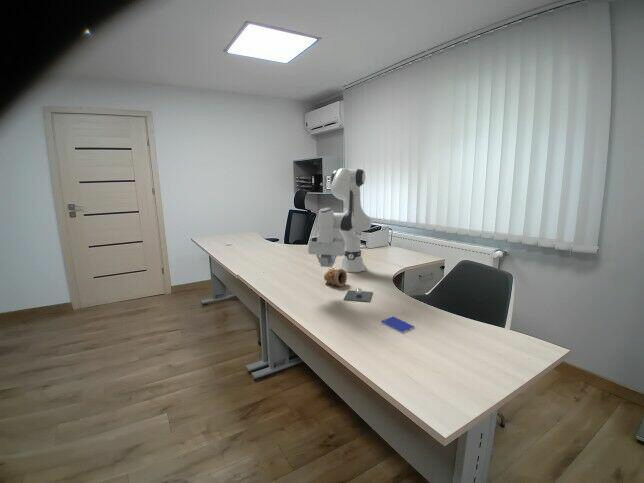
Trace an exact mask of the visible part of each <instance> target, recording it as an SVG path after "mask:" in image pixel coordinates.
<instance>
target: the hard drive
mask: <svg viewBox="0 0 644 483" xmlns="http://www.w3.org/2000/svg"><path fill="white" fill-rule="evenodd" d="M380 324H382V325H383V326H386V327H388V328H390V329H392V330H394V331H396V332H398V333H400V334H403V333H406V332H409V331H411V330H413V329H415V326H414V325H412V324H410V323H408V322H405V321H403V320H401V319H399V318H397V317H395V316H391V317H388V318H386V319H385V318H384V319H383V320H381V321H380Z"/></svg>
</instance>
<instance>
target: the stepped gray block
mask: <svg viewBox="0 0 644 483" xmlns="http://www.w3.org/2000/svg"><path fill="white" fill-rule="evenodd" d="M319 257H320V262H319V265H320V267H322V268H323V267H324V268H332V267H333V266H334V265H335V263H332V259H334V258H335V257H334V255H320V256H319Z"/></svg>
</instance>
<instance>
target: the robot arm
mask: <svg viewBox="0 0 644 483" xmlns="http://www.w3.org/2000/svg"><path fill="white" fill-rule="evenodd" d="M365 173H366V172H365V171H364V169H360V168H345V167H342V168H339V169H335V170H333V171H332V173H331V174H330V179H331V180H330V181H331V185H330V186H331V187H330V191H331V194H332V195H333V196H334V197H335V198H336V199H337V200H340V201H342V202H343V206H344V208H345V211H344V212H335V211H334V210H333V208H332V207H322V208H320V209H319V210H318V214H317V226H318V231H317V234H316V235H313V236H311V237H309V242H308V246H307V247H308V248H307V252H308V254H309V255H314V256H316V258H317V260H318V263H320V255H334V259H332V263H334V264H335V263H336V259H337V258H338V256H340V257H341V266H339V269H343V270H344V271H345V272H346V273H360V272H364V271H365V272H366V271H367V269H366V264H365V263H363V262H364V259H363V257H362V250H361V244H362V242H361V238H360V237H358V236H357V235H355V234H354V233H353V232H364V231H365V232H366V231H368V230H370V229H371V227H372V219H371V218H370V216H368V215H367V214H366V213H365V211H364V210H363V208H362V202H361V187H362V186H363V185H364V184H365V182H366V174H365ZM335 231H338V232H340V234H341V235H342V238H337V237H335ZM339 269H338V270H339Z"/></svg>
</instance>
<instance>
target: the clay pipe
mask: <svg viewBox="0 0 644 483" xmlns="http://www.w3.org/2000/svg"><path fill="white" fill-rule="evenodd" d="M347 277H348V274H347V272H346V271H344V270H343V269H338V268H337V269H334V268H329V269H328V270H327V272H326V273H324V275H323V279H324V281H326V282H327V283H328V284H329V285H330V284H331V285H332V286H337V287H339V288H340V287H344V286H345V285H346V283H347V279H348V278H347Z"/></svg>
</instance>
